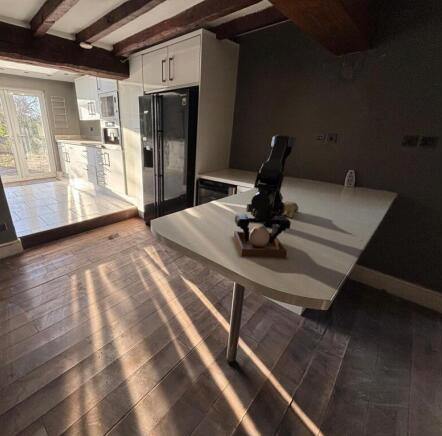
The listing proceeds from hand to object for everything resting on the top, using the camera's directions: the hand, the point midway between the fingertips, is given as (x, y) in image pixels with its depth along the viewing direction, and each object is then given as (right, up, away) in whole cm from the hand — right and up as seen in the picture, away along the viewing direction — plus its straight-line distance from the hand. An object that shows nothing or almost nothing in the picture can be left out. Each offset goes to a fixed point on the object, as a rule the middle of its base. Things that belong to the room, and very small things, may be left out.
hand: (258, 242), depth 88 cm
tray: (0, -2, +1) cm, 2 cm away
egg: (0, -2, +1) cm, 2 cm away
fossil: (+28, +12, +37) cm, 48 cm away
